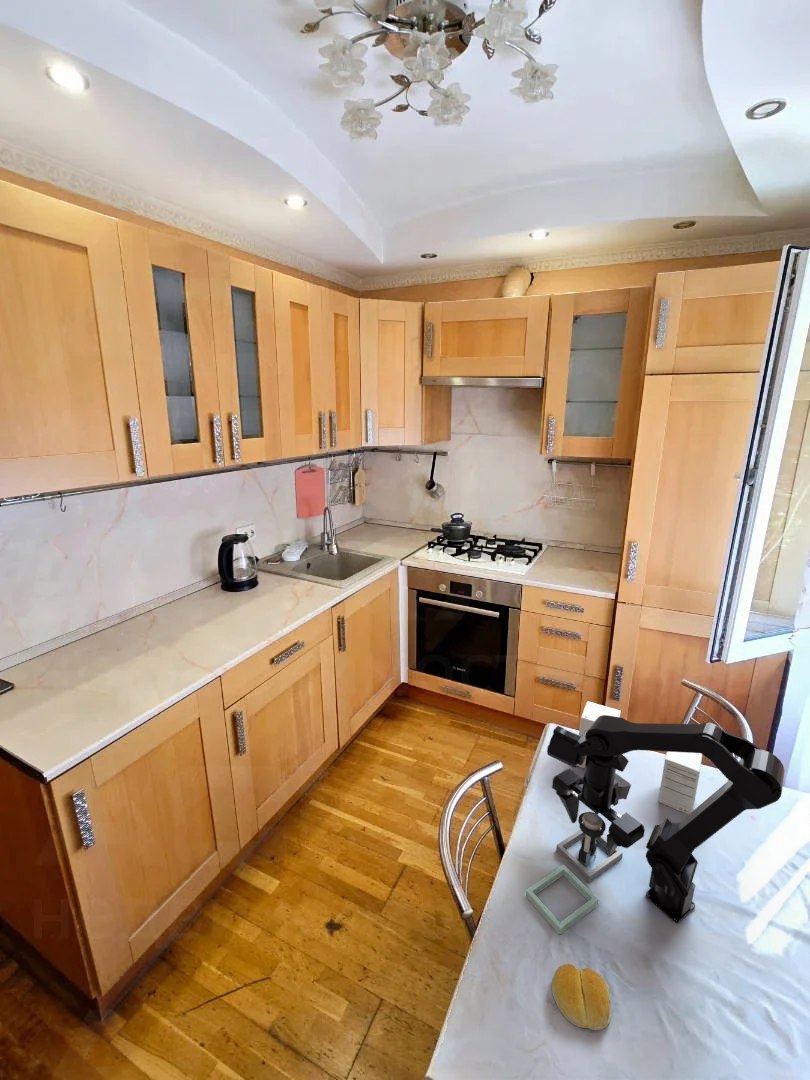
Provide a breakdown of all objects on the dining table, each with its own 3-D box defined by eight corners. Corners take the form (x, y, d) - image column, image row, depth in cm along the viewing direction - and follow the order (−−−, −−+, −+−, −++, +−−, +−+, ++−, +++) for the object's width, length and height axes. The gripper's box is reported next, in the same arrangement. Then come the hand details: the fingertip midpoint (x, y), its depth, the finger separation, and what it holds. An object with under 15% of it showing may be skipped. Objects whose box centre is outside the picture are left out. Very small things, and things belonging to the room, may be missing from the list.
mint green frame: (597, 905, 93) (598, 899, 93) (559, 935, 88) (560, 928, 88) (562, 870, 101) (563, 864, 100) (525, 895, 95) (526, 889, 95)
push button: (582, 837, 108) (586, 800, 106) (606, 851, 105) (612, 813, 102) (570, 857, 103) (575, 819, 101) (595, 872, 100) (601, 833, 97)
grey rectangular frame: (622, 858, 103) (622, 852, 103) (588, 882, 98) (589, 876, 98) (588, 829, 110) (589, 823, 110) (556, 850, 105) (556, 844, 105)
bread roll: (550, 966, 83) (552, 949, 82) (606, 981, 81) (608, 963, 80) (552, 1023, 76) (554, 1004, 75) (613, 1041, 74) (616, 1022, 73)
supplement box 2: (662, 783, 124) (669, 741, 120) (695, 796, 120) (703, 753, 116) (656, 802, 118) (664, 758, 115) (691, 816, 114) (700, 771, 110)
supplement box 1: (610, 778, 126) (616, 728, 122) (574, 765, 130) (579, 717, 126) (615, 757, 133) (621, 709, 129) (581, 746, 137) (586, 699, 134)
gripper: (666, 790, 95) (655, 853, 99) (587, 737, 111) (580, 793, 115) (631, 814, 90) (621, 879, 94) (553, 754, 105) (547, 813, 109)
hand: (591, 837), depth 103 cm, fingers open, 9 cm apart
